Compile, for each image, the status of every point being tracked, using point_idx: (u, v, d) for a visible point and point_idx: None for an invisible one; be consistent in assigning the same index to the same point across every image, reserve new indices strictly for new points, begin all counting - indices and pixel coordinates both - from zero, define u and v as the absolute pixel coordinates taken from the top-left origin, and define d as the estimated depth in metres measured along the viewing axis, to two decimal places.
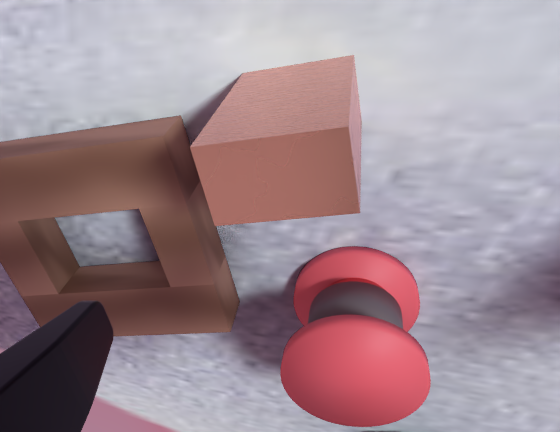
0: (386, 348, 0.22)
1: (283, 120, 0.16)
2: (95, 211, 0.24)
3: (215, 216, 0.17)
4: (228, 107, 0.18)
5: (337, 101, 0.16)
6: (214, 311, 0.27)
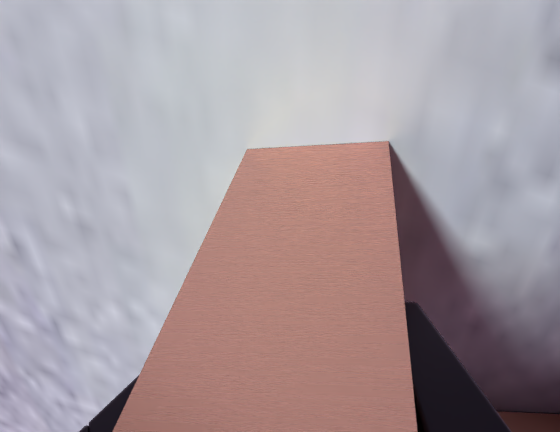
0: None
1: None
2: None
3: None
4: None
5: None
6: None
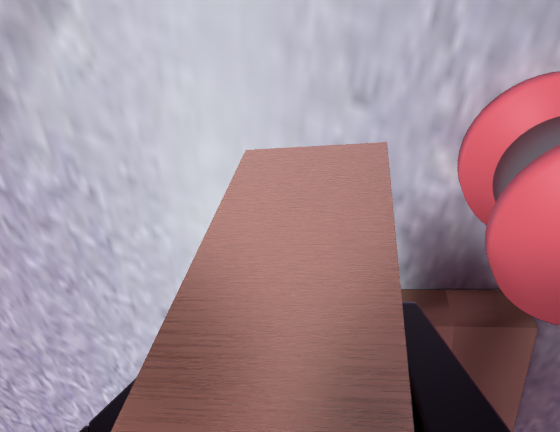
0: (548, 197, 0.14)
1: None
2: None
3: None
4: None
5: None
6: (496, 335, 0.22)
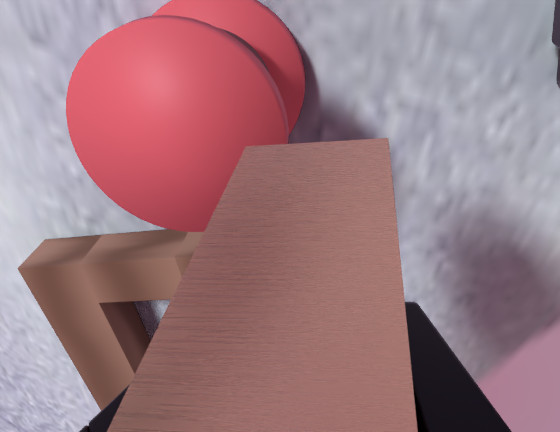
0: (93, 96, 0.15)
1: None
2: (113, 336, 0.26)
3: None
4: None
5: None
6: None
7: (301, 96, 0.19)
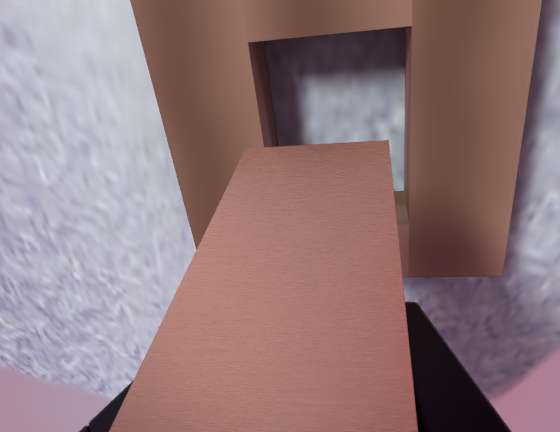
0: None
1: None
2: (256, 114, 0.17)
3: None
4: None
5: None
6: None
7: None
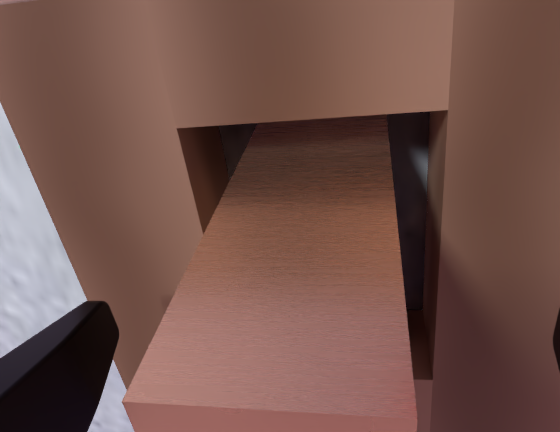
0: None
1: None
2: (198, 229, 0.11)
3: None
4: None
5: None
6: None
7: None
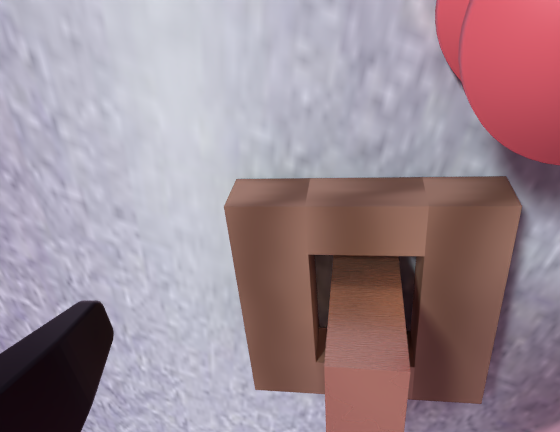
0: None
1: None
2: (309, 294, 0.23)
3: None
4: None
5: None
6: (476, 217, 0.19)
7: None
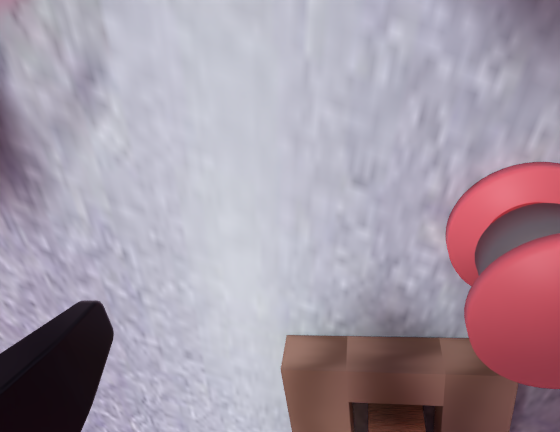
0: (513, 288, 0.17)
1: None
2: (349, 428, 0.28)
3: None
4: None
5: None
6: (483, 382, 0.25)
7: None
